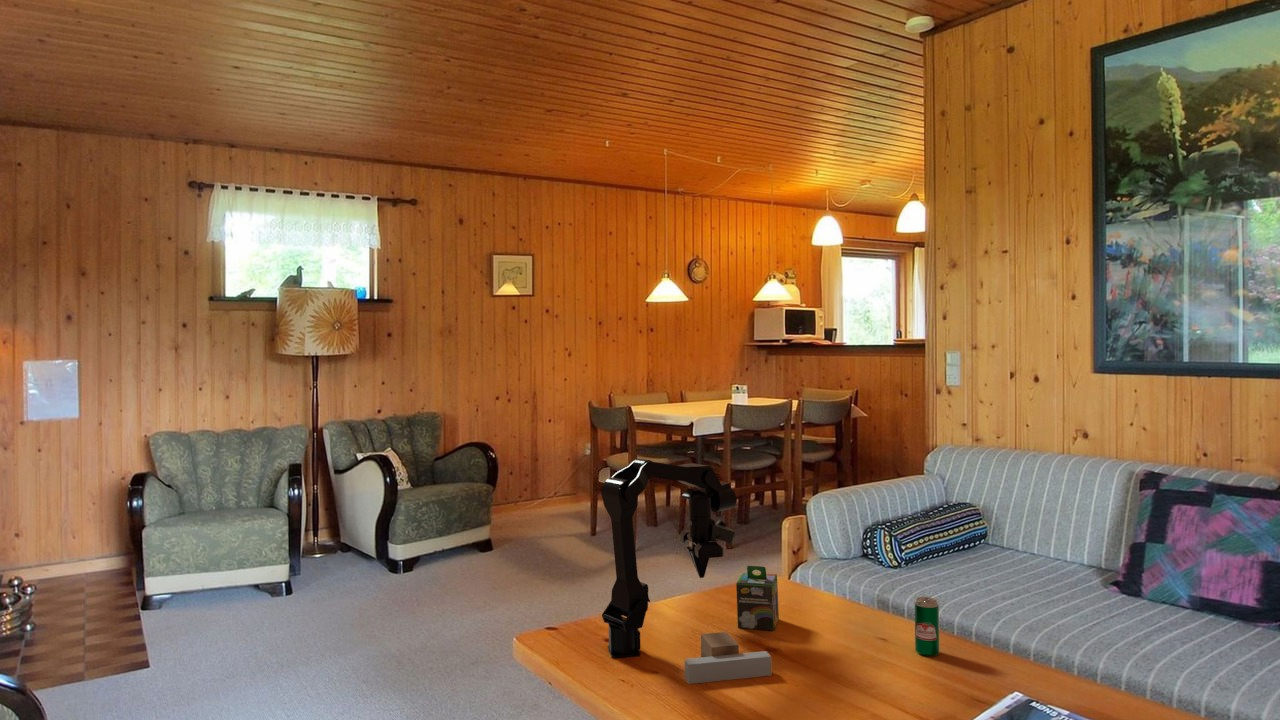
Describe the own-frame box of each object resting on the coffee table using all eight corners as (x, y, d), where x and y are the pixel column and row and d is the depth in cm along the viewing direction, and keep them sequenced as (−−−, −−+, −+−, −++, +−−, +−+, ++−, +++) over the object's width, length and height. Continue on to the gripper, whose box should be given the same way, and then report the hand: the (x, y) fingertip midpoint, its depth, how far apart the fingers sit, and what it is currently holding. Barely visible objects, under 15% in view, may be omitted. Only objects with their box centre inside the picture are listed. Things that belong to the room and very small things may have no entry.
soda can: (913, 655, 173) (912, 601, 173) (917, 647, 178) (916, 594, 178) (937, 659, 171) (937, 604, 171) (940, 651, 176) (940, 597, 175)
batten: (688, 684, 160) (688, 664, 160) (684, 678, 163) (684, 659, 163) (771, 675, 164) (771, 656, 164) (766, 669, 167) (766, 651, 167)
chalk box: (779, 619, 198) (778, 561, 198) (774, 631, 189) (773, 571, 189) (743, 616, 201) (742, 558, 201) (736, 628, 192) (735, 568, 192)
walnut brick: (712, 675, 165) (711, 647, 165) (701, 661, 172) (700, 634, 172) (739, 672, 166) (738, 644, 166) (727, 658, 174) (726, 631, 174)
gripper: (743, 520, 186) (744, 586, 186) (720, 505, 204) (721, 564, 205) (698, 523, 184) (699, 589, 184) (679, 508, 202) (680, 568, 202)
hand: (701, 577), depth 194 cm, fingers closed
